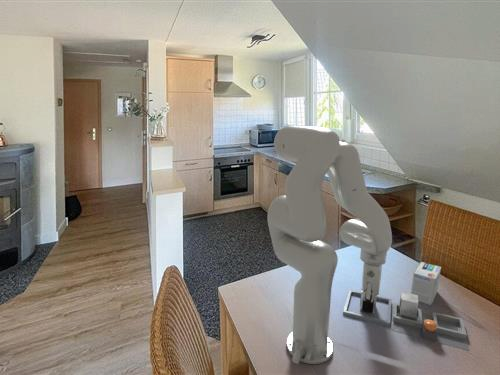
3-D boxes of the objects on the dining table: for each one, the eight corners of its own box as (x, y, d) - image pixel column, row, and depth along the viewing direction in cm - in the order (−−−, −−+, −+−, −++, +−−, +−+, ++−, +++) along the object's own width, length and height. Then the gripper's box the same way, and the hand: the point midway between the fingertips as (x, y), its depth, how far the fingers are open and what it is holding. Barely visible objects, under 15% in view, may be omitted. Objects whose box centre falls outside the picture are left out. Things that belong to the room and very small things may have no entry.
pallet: (468, 353, 86) (471, 342, 85) (391, 333, 94) (393, 323, 93) (461, 324, 97) (462, 314, 96) (393, 308, 105) (394, 299, 104)
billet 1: (374, 314, 101) (376, 295, 99) (359, 310, 103) (360, 291, 101) (375, 306, 105) (377, 287, 103) (360, 303, 107) (362, 284, 105)
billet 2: (415, 323, 96) (418, 303, 94) (398, 319, 98) (400, 299, 96) (414, 315, 100) (417, 295, 98) (398, 311, 102) (400, 291, 100)
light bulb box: (416, 287, 117) (420, 260, 115) (437, 294, 113) (441, 266, 111) (409, 300, 109) (413, 272, 107) (431, 308, 105) (436, 279, 102)
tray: (389, 329, 95) (390, 323, 95) (342, 317, 101) (343, 311, 100) (390, 304, 107) (391, 299, 107) (349, 294, 113) (349, 289, 112)
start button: (436, 333, 88) (437, 328, 88) (423, 329, 90) (424, 324, 89) (435, 326, 91) (436, 321, 91) (423, 323, 93) (423, 318, 92)
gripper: (384, 270, 90) (378, 325, 95) (387, 246, 105) (381, 296, 110) (357, 264, 93) (352, 319, 98) (363, 243, 108) (359, 290, 113)
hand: (368, 306), depth 104 cm, fingers closed on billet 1, 4 cm apart
